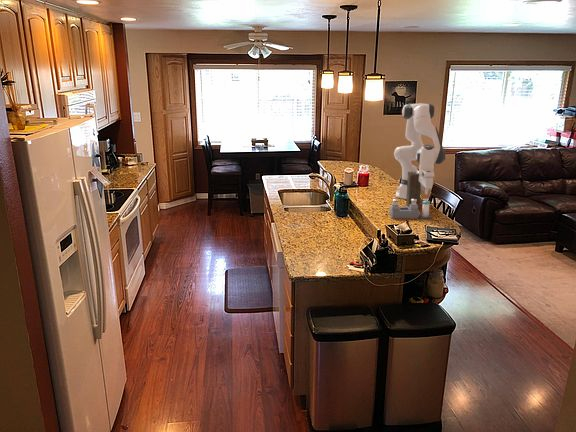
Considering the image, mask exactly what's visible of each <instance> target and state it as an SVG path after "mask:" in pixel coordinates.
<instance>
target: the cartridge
mask: <svg viewBox="0 0 576 432" xmlns="http://www.w3.org/2000/svg"><path fill="white" fill-rule="evenodd" d="M430 204H431V200H427V199H426V200H425V199H424V200H422V210H421V215H422V217H425V218H427V217H429V215H430Z"/></svg>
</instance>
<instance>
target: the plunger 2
mask: <svg viewBox="0 0 576 432" xmlns="http://www.w3.org/2000/svg"><path fill="white" fill-rule="evenodd" d="M411 201H412V204H411V206H416V201H417V199H411Z"/></svg>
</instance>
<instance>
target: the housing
mask: <svg viewBox="0 0 576 432" xmlns="http://www.w3.org/2000/svg"><path fill="white" fill-rule="evenodd" d="M388 215H389V216H390V218H391V219H395V220H397V219H420V218H419V215H420V209H418V205H417V204H416V206H411V204H409V207H407V206H400V205H399V204H398V203H397V206H393V203H391V204H390V206H389V213H388Z"/></svg>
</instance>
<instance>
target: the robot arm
mask: <svg viewBox="0 0 576 432" xmlns="http://www.w3.org/2000/svg"><path fill="white" fill-rule="evenodd" d="M435 113H436V109H435V106H434V105H433V104H431V103H420V102H419V103H406V104H404V106H403V107H402V109H401V114H402V117H403V119H404V120H406V124H405V133H404V134H405V135H404V136H405V137H404V138H405V139H406V140H407V141H410V143H411V145H401V146H397V147H396V148H395V149H394V152H393V157H394V158H395V160H396V161H398V163H399V164H400V166H401V175H402V176H401V181H400V185H399V186H397V187H396V192H395V198H396V199H398V198H400V199H404V200H406V198H407V182H408V175H409V174H408V172H409V171H410V172H413V173H414V171H415V172H416V173H419V182H420V183H421V191H424V194H425V195H428V194H429V190H431V189H432V188H433V183H434V178H435V175H436V174H435V172H434V168H435V167H434V164H435V165H441V164H442V163H444V161H446V152H445V149H444V146H443V144H442V140H441V136H440V133H439V131H438V128H437V127H436V126H435V125H433V123H432V120H431V119H432V118H434V116H435ZM422 136H426V137H429V138H430V139H431V140H432V142H433V145H430V144H424V143H423V139H422ZM412 161H416V162H417V163H418V164H419V165H418V167H417V166H416V165H414V164H412ZM420 198H422V195H421V194H420Z"/></svg>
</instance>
